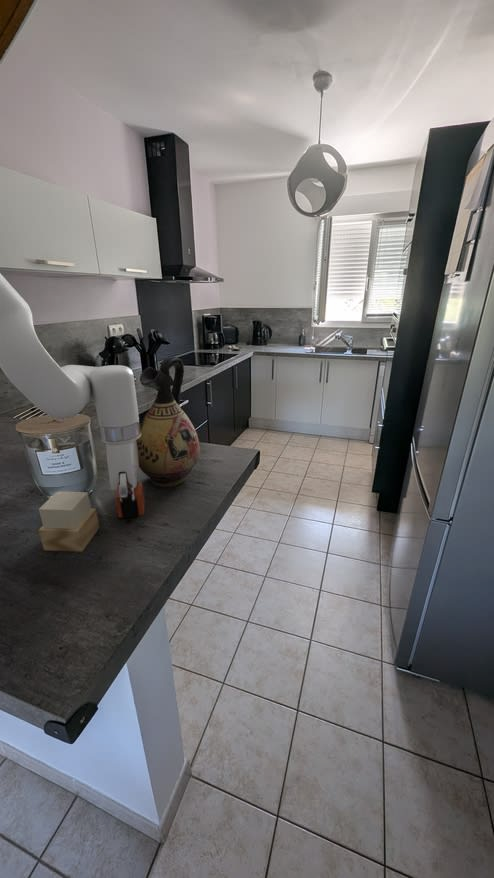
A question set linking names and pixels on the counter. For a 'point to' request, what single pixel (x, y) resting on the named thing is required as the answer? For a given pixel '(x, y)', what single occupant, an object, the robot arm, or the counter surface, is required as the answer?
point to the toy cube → (138, 495)
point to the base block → (70, 535)
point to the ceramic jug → (166, 429)
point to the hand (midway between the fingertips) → (132, 508)
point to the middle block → (65, 510)
